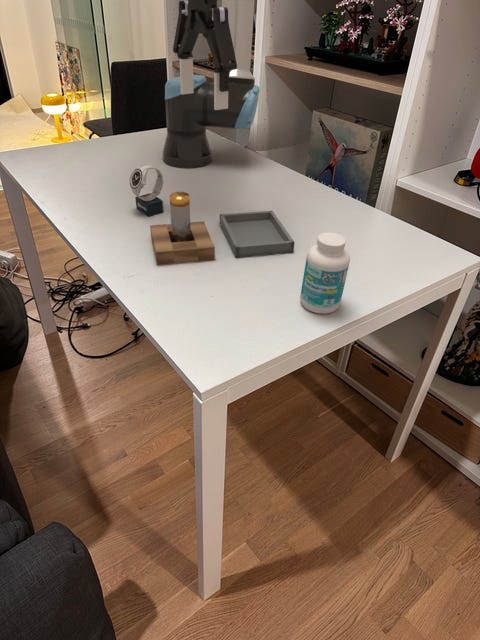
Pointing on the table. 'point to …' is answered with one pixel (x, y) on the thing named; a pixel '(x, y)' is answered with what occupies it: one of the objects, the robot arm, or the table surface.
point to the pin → (180, 216)
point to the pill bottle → (325, 274)
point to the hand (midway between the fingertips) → (203, 101)
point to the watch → (149, 202)
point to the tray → (256, 234)
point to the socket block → (182, 245)
